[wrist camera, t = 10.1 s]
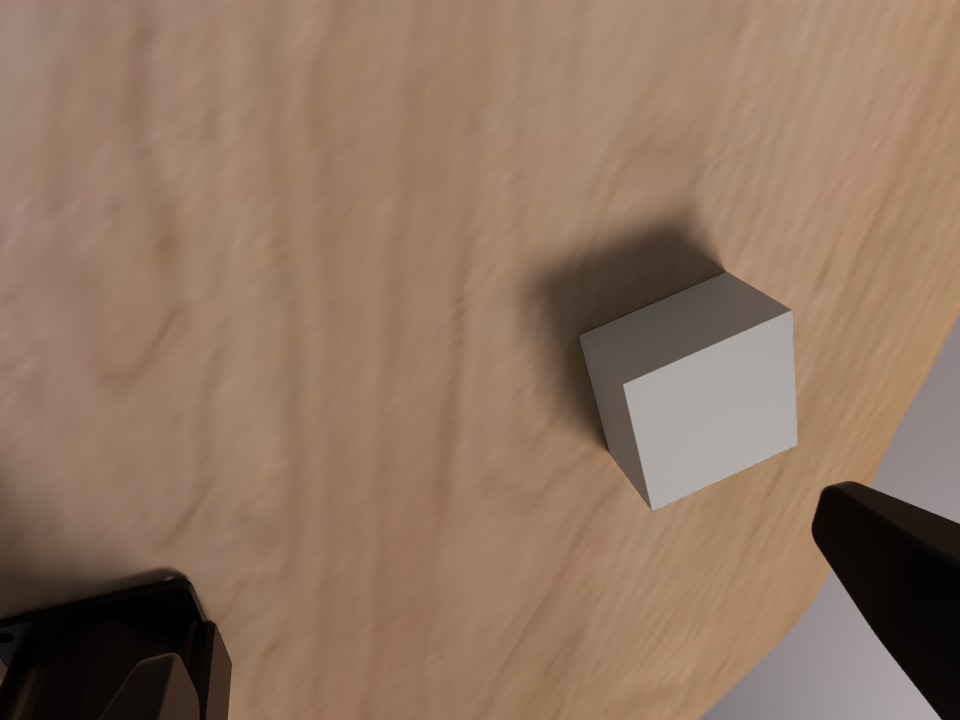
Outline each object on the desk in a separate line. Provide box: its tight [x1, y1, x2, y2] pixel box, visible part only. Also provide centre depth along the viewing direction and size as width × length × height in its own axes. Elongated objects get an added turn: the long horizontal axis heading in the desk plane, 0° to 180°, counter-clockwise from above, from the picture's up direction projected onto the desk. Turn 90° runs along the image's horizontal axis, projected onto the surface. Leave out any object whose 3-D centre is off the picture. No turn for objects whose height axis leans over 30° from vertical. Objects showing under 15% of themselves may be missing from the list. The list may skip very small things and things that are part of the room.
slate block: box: [579, 272, 797, 511], centre depth 23 cm, size 6×6×4 cm
